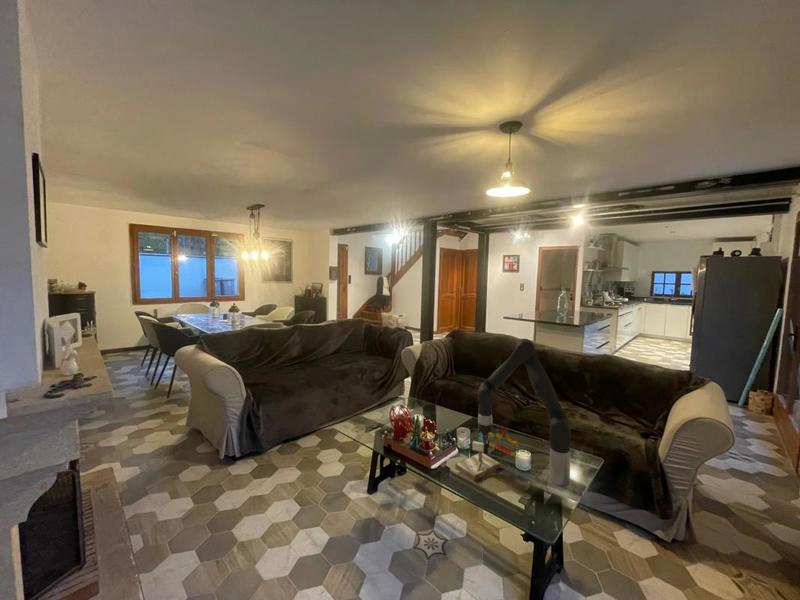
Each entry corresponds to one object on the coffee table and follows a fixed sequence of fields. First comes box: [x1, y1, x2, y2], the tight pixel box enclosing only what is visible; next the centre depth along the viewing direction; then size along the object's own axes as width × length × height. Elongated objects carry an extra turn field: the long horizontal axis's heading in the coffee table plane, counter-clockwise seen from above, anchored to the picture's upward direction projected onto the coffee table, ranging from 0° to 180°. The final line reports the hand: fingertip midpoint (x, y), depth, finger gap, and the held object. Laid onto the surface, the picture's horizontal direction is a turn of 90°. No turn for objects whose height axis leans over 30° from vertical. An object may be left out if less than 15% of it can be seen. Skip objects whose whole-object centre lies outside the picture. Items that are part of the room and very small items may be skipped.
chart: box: [477, 426, 521, 458], centre depth 208 cm, size 30×3×15 cm, turn 41°
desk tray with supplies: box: [454, 452, 501, 482], centre depth 190 cm, size 20×14×3 cm
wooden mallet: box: [472, 440, 484, 471], centre depth 187 cm, size 10×8×10 cm
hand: (485, 451), depth 190 cm, fingers closed on wooden mallet, 2 cm apart
